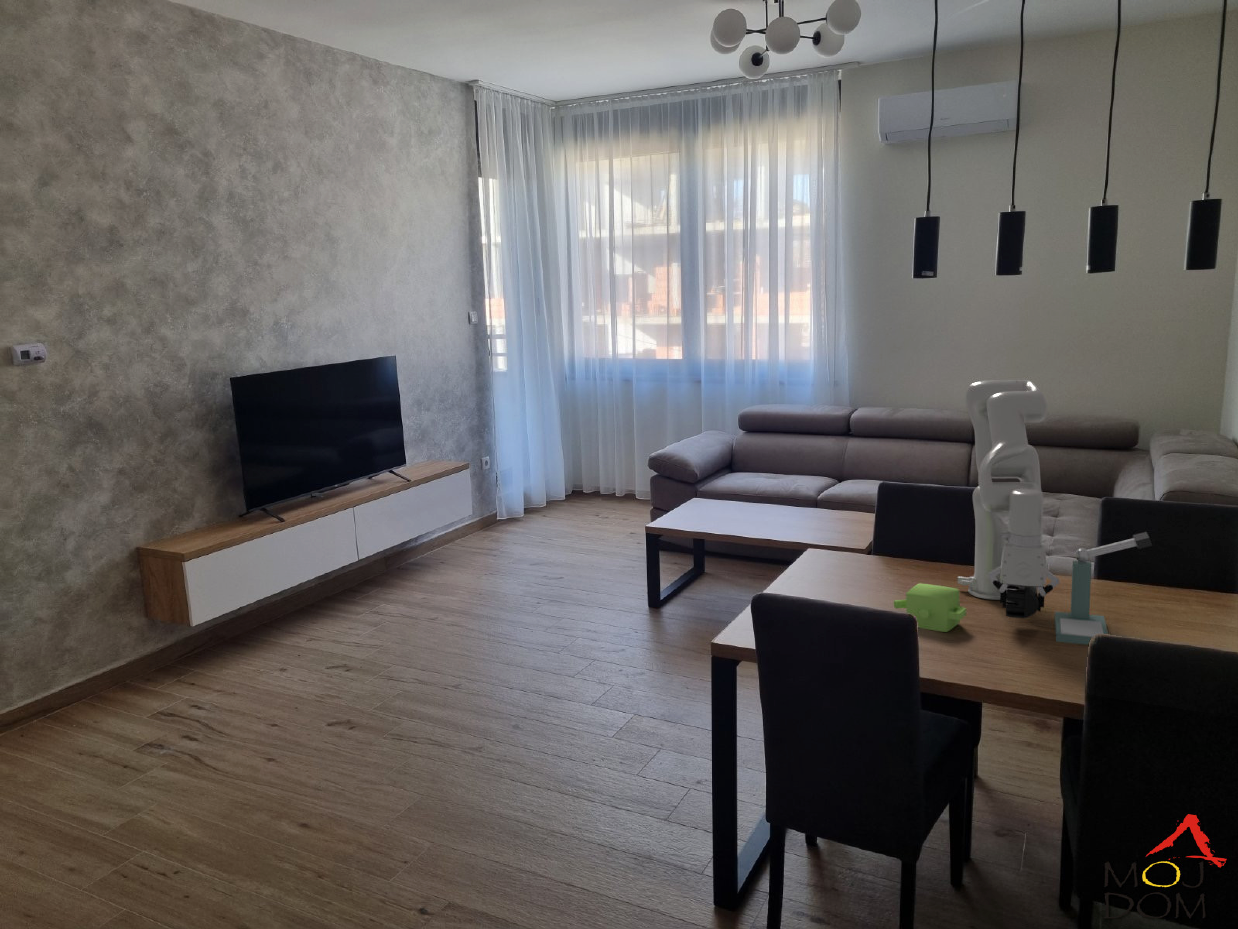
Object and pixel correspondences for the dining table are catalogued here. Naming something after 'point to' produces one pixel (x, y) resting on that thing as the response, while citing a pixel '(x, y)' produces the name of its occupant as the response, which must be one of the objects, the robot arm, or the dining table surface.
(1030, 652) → the dining table surface
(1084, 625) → the press frame
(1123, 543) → the press lever
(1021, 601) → the end cap
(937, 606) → the gearbox
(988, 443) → the robot arm
